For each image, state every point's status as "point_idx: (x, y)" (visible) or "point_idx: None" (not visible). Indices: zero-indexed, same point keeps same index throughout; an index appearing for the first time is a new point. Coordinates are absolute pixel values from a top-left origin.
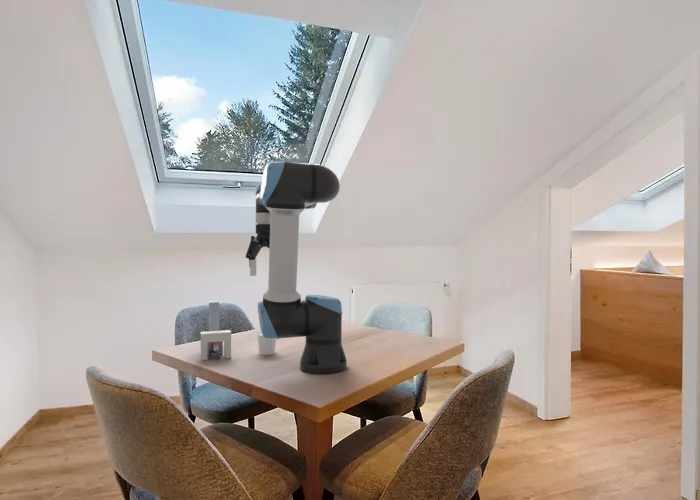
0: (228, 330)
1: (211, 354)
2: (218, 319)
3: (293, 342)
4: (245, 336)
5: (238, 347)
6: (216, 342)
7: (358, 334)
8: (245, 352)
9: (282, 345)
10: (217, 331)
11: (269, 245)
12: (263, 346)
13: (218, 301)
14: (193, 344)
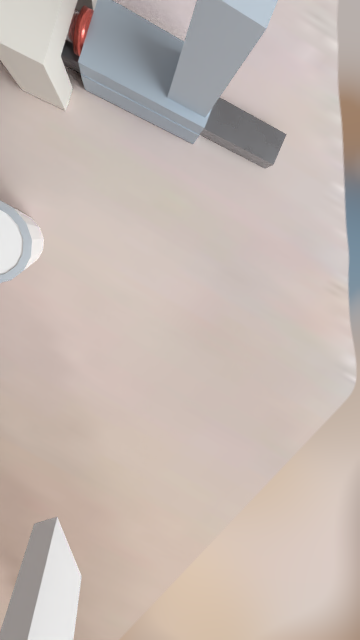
0: (37, 50)
1: None
2: (181, 54)
3: (100, 392)
4: (293, 310)
5: (158, 202)
6: (70, 24)
7: None
8: (69, 181)
9: (83, 340)
10: None
11: None
12: None
13: (238, 7)
14: (315, 92)
